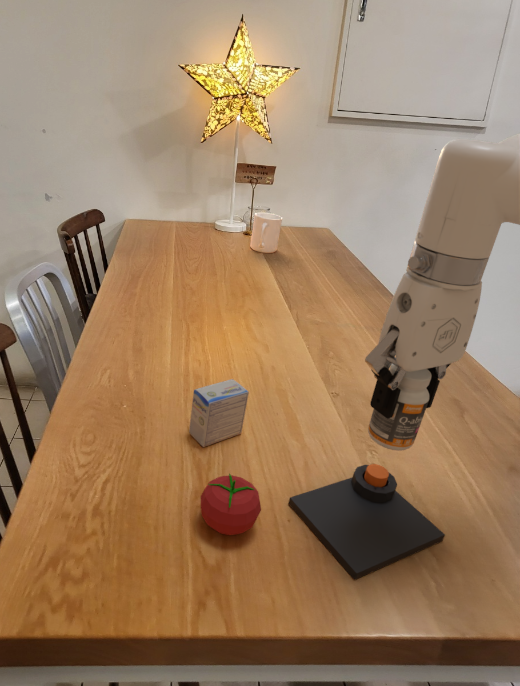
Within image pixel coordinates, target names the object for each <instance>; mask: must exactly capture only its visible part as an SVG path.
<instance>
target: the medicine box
mask: <svg viewBox="0 0 520 686" xmlns="http://www.w3.org/2000/svg"><path fill="white" fill-rule="evenodd" d="M249 394H250V392H249V390H247V389H246V388H245V387H244V386H243V385H242V384H240V383H239V382H238V381H237V380H235V379H234V378H230V379H227V380H223V381H220V382H216V383H213V384H208V385H206V386H202V387H199V388H196V389H193V394H192V402H191V411H190V420H189V429H188V433H189V435H190V436H192V437H193V439H194V440H195V441H196V442H197V443H198V444H199V445H200V446H201V447H202V448H205V447H207V446H211V445H213V444H216V443H219V442H222V441H224V440H227V439H230V438H232V437H235V436H238V435H241V434H242V433H243V428H244V422H245V421H244V420H245V416H246V410H247V405H248V400H249Z"/></svg>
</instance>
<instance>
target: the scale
mask: <svg viewBox="0 0 520 686" xmlns="http://www.w3.org/2000/svg"><path fill="white" fill-rule="evenodd" d="M369 465H370V464H363V465H359V466H356V468H355V470H354V471H353V474H352V477H349V478H346V479H342V480H340V481H336V482H333V483H331V484H327V485H324V486H321V487H318V488H314V489H312V490H309V491H306V492H303V493H299V494H296V495H293V496H290V497H289V499H288V505H289V506H290V507H291V509H292V510H293V511H294V513H295V514H297V515H298V517H299V518H300V519H301V520H302V521H303V523H304V524H305V525H306V526H307V527H308V528H309V529H310V531H311V532H312V533H313V534H314V535H315V536H316V537H317V539H318V540H319V541H320V542H321V543H322V545H323V546H324V547H325V549H327V551H328V552H329V553H330V554H331V555H332V556H333V557H334V558H335V560H336V561H337V562H338V563H339V564H340V566H342V568H343V569H344V570H345V571H346V572H347V574H348V575H349V576H350V577H351V578H352V579H353V580H354V581H355V580H358V579H360V578H362V577H364V576H367V575H369V574H371V573H374V572H376V571H378V570H380V569H383V568H385V567H387V566H390V565H391V564H394V563H396V562H398V561H401V560H402V559H406V558H407V557H410V556H412V555H414V554H416V553H419V552H421V551H422V550H425V549H428V548H430V547H432V546H434V545H437V544H438V543H439V544H440V543H441V542H443V541H444V539H445V536H446V534H445V533H444V532H443V531H441V529H439V528H438V527H437V526H436V525H435V524H434V523H433V522H431V521H430V520H429V519H428V518H427V517H426V516H425V515H424V514H422V513H421V511H419V510H418V508H416V507H415V506H413V504H411V503H410V502H409V501H408V500H407V499H406V498H404V496H403V495H401V494H400V493H399V492H398V491H397V487H398V483H397V480H396V478H395V476H394V475H393V474H391V473H390V472H389V476H388V479H387V482H386V485H385V486H384V487H374V486H372V485H370V484H368V483H367V482H366V481H365V480H364V475H365V472H366V469H367V466H369Z"/></svg>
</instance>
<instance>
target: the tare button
mask: <svg viewBox="0 0 520 686" xmlns="http://www.w3.org/2000/svg"><path fill="white" fill-rule="evenodd" d="M368 465H369V466H367V469H366V472H365V475H364V480H365V481H366V482H367V483H368V484H370V485H372V486H374V487H384V486H385V485H386V482H387V479H388V476H389V473H390V472H389V471H388V469H387V468H386V467H384V466H383V465H380V464H377V463H371V464H368Z"/></svg>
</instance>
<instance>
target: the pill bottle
mask: <svg viewBox="0 0 520 686" xmlns="http://www.w3.org/2000/svg"><path fill="white" fill-rule="evenodd" d="M396 369H397V366H395V365H394V364H391V366H390V368H389V370H390V372H391V374H392V375H393V374H394V373H395V371H396ZM430 380H431V373H430V371H429V370H428V369H423V370H418V371H412V372H408V371H407V372H406V374H405V375H404V377H403V379H402V381H401V382H400V384H399V386H398V387H397V388H399V389H400V390H401V391H400V395H399V398H398V401H397V404H396V407H395V411H394V414H393V416H392V418H388V419H387V418H385V417H384V416H383V415H382V414H380V413H379V412H378V411H376V410H375V409H374V408H373V410H372V413H371V416H370V420H369V424H368V428H367V434H368V435H369V438H370V439H371V440H372V441H373V442H374V443H375V444H377V445H378V446H380V447H382V448H384V449H387V450H392V451H397V452H398V451H399V452H401V451H402V452H403V451H406V450H409V449H410V448H412V447H413V445H414V444H415V441H416V439H417V435H418V433H419V431H420V427H421V424H422V421H423V419H424V416H425V413H426V410H427V408H426V407H427V404H428V402H429V392H428V390H427V386H428V385H429V383H430Z"/></svg>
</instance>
